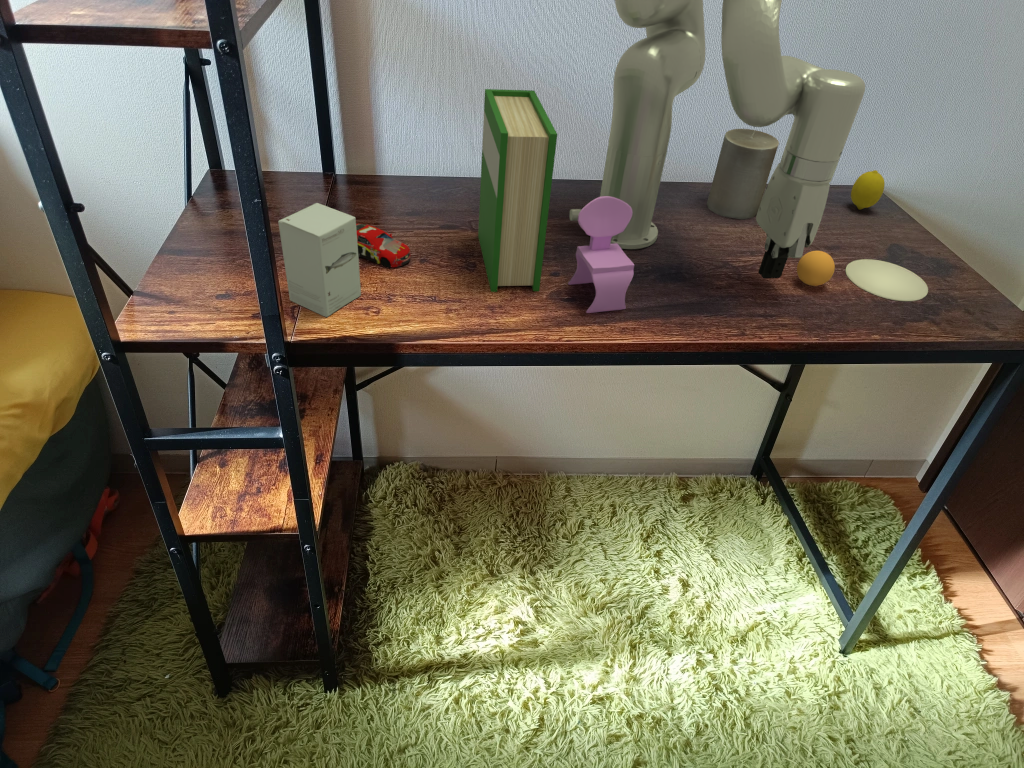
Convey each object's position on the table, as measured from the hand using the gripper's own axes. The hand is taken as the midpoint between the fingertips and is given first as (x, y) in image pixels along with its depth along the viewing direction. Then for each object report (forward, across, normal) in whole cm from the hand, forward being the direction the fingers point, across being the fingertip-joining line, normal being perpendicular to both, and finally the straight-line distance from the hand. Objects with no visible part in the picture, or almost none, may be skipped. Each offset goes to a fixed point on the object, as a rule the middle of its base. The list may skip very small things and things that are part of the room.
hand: (769, 275), depth 111 cm
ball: (-1, 0, +8) cm, 8 cm away
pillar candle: (+2, -27, +6) cm, 28 cm away
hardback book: (+2, -9, -41) cm, 42 cm away
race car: (+2, -13, -62) cm, 63 cm away
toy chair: (+2, +2, -29) cm, 29 cm away
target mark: (+2, 0, +22) cm, 22 cm away
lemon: (+2, -26, +33) cm, 42 cm away
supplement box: (+2, 0, -69) cm, 69 cm away
